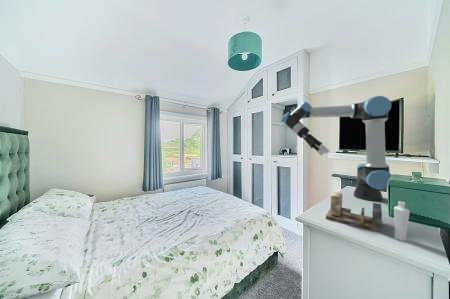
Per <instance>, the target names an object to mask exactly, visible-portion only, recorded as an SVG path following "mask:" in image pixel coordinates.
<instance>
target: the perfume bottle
mask: <svg viewBox="0 0 450 299" xmlns="http://www.w3.org/2000/svg"><path fill="white" fill-rule="evenodd" d="M397 202H398V203H397V205H396V206H394V207H393V217H394V234H393V235H394V236H393V238H394V239H397V240H398V241H402V242H404V241H405V242H406V241H408V239H407V232H408V224H409V220H410V212H411V211H410V209H408V208H406V202H405V201H400V200H399V201H397Z"/></svg>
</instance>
